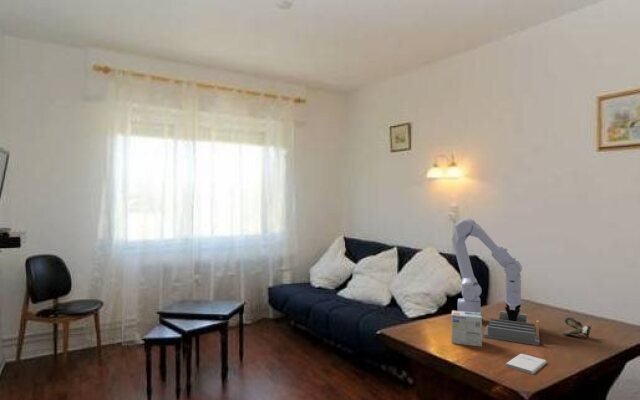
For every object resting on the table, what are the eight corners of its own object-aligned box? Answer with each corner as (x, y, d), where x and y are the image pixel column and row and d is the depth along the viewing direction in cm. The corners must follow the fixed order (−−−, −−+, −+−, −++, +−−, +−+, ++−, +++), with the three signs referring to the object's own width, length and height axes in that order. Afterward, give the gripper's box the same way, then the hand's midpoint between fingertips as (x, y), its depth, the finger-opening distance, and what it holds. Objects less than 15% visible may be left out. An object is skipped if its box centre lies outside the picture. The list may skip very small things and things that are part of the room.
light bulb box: (481, 341, 152) (481, 312, 152) (482, 347, 146) (482, 317, 146) (451, 337, 156) (451, 309, 156) (451, 343, 149) (451, 314, 149)
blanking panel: (499, 325, 170) (499, 311, 170) (499, 324, 172) (500, 310, 172) (526, 329, 166) (526, 315, 166) (526, 328, 167) (526, 314, 167)
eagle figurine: (590, 331, 160) (564, 323, 165) (593, 319, 156) (566, 311, 161) (586, 346, 155) (560, 337, 160) (589, 334, 151) (562, 325, 156)
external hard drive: (505, 368, 129) (520, 357, 138) (532, 376, 123) (546, 364, 132) (505, 363, 129) (520, 352, 138) (532, 371, 123) (546, 359, 132)
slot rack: (483, 337, 156) (483, 318, 156) (487, 326, 169) (487, 310, 169) (539, 345, 147) (539, 326, 147) (538, 334, 160) (539, 316, 160)
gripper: (523, 295, 160) (523, 329, 160) (524, 288, 173) (524, 319, 173) (504, 293, 164) (503, 326, 164) (506, 286, 176) (505, 317, 177)
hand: (512, 323), depth 169 cm, fingers open, 5 cm apart
